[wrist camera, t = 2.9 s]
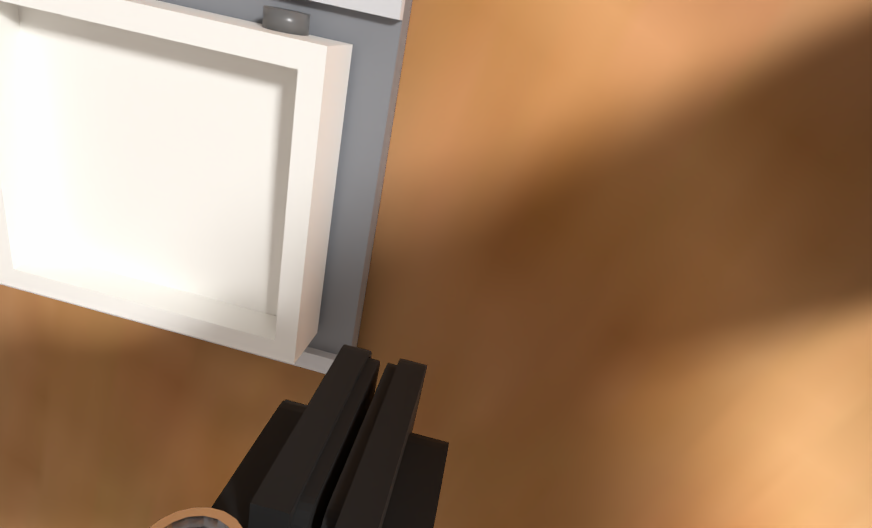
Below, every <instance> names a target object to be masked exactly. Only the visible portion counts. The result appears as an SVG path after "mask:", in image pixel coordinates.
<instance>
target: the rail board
mask: <svg viewBox="0 0 872 528" xmlns="http://www.w3.org/2000/svg"><path fill="white" fill-rule="evenodd" d="M158 1H162V2H167V3H171V4H175V5H180V6H184V7H189V8H193V9H198V10H202V11H207V12H211V13H215V14H220V15H224V16H229V17H233V18H238V19H242V20H246V21H251V22H255V23H260V24H262V22H263V6H264V5H265V6H273V7H279V8H284V9H289V10H294V11H298V12H303V13H306V14H310V25H309V35H313V36H317V37H322V38H326V39H331V40H335V41H340V42H344V43H349V44H353V46H352V55H351V63H350V71H349V79H348V87H347V95H346V103H345V111H344V120H343V128H342V136H341V144H340V152H339V160H338V168H337V177H336V185H335V193H334V201H333V209H332V217H331V225H330V233H329V242H328V250H327V258H326V266H325V274H324V282H323V290H322V298H321V307H320V315H319V323H318V331H317V334H316V335H315V337H314V338H313V339H312V341H311V342H310V343H309V345H308V346H307V347H306V349H305V350H304V351H303V353H302V354H301V355H300V357H299V358H298V360H297V361H296V362H295V364H291V363H287V362H284V361H280V360H277V359H273V358H269V357H266V356H262V355H258V354H255V353H251V352H248V351H244V350H240V349H237V348H233V347H230V346H226V345H222V344H219V343H215V342H211V341H208V340H204V339H201V338H197V337H193V336H190V335H186V334H182V333H179V332H175V331H172V330H168V329H164V328H161V327H157V326H153V325H150V324H146V323H143V322H139V321H135V320H132V319H128V318H124V317H121V316H117V315H114V314H110V313H106V312H103V311H99V310H96V309H92V308H88V307H85V306H81V305H77V304H74V303H70V302H67V301H63V300H59V299H56V298H52V297H48V296H45V295H41V294H38V293H34V292H30V291H27V290H23V289H19V288H16V287H12V286H9V285H5V284H1V283H0V284H1V285H5V286H9V287H12V288H16V289H19V290H23V291H27V292H30V293H34V294H38V295H41V296H45V297H48V298H52V299H56V300H59V301H63V302H67V303H70V304H74V305H77V306H81V307H85V308H88V309H92V310H95V311H99V312H103V313H106V314H110V315H114V316H117V317H121V318H124V319H128V320H132V321H135V322H139V323H143V324H146V325H150V326H153V327H157V328H161V329H164V330H168V331H171V332H175V333H179V334H182V335H186V336H190V337H193V338H197V339H200V340H204V341H208V342H211V343H215V344H218V345H222V346H226V347H229V348H233V349H237V350H240V351H244V352H247V353H251V354H255V355H258V356H262V357H266V358H269V359H273V360H276V361H280V362H284V363H287V364H291V365H294V366H298V367H302V368H305V369H309V370H313V371H316V372H320V373H323V374H326V373H327V371H328V370H329V368H330V366H331V365H332V363H333V361H334V360H335V358H336V356H337V354H338V353H339V351H340V349H341V348H342V346H343V345H344V344H346V345H350V346H354V347H357V342H358V336H359V330H360V323H361V317H362V311H363V305H364V299H365V292H366V286H367V280H368V274H369V268H370V261H371V255H372V249H373V243H374V236H375V230H376V224H377V218H378V212H379V205H380V199H381V193H382V187H383V180H384V174H385V168H386V162H387V156H388V149H389V143H390V137H391V131H392V125H393V118H394V112H395V106H396V100H397V93H398V87H399V81H400V75H401V69H402V62H403V56H404V50H405V44H406V37H407V31H408V25H409V19H410V13H411V6H412V0H158Z"/></svg>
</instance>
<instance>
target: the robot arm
mask: <svg viewBox="0 0 872 528" xmlns="http://www.w3.org/2000/svg"><path fill="white" fill-rule="evenodd" d="M371 355H372V352H371V351H369V350H366V349H362V348H358V347H354V346H350V345H346V344H344V345H343V346H342V348H341V349H340V351H339V353H338V354H337V356H336V358H335V360H334V361H333V363H332V365H331V366H330V368H329V370H328V371H327V373H326V375H325V377H324V378H323V380H322V382H321V383H320V385H319V387H318V388H317V390H316V392H315V394H314V395H313V397H312V399H311V400H310V402H309V404H308V405H304V404H301V403H297V402H293V401H289V400H285V401H283V402H282V403H281V404H280V405H279V407H278V408H277V410H276V411H275V413H274V414H273V416H272V417H271V419H270V420H269V422H268V423H267V425H266V426H265V428H264V429H263V431H262V432H261V434H260V435H259V437H258V438H257V440H256V441H255V443H254V444H253V446H252V447H251V449H250V450H249V452H248V453H247V455H246V456H245V458H244V459H243V461H242V462H241V464H240V465H239V467H238V468H237V470H236V471H235V473H234V474H233V476H232V477H231V479H230V480H229V482H228V483H227V485H226V486H225V488H224V489H223V491H222V492H221V494H220V495H219V497H218V498H217V500H216V501H215V503H214V504H213V506H212V507H211V508H210V507H193V508H189V509H185V510H180V511H176V512H174V513H172V514H170V515H168V516H166V517H164V518H162V519H160V520H159V521H157V522H156V523H155V524H154V525H152V526H151V527H150V528H433V527H434V521H435V516H436V511H437V505H438V500H439V494H440V489H441V484H442V478H443V473H444V467H445V462H446V457H447V451H448V445H449V443H448V442H444V441H441V440H437V439H433V438H429V437H425V436H422V435H418V434H414V433H412V430H413V425H414V421H415V417H416V412H417V408H418V404H419V399H420V395H421V391H422V386H423V382H424V378H425V373H426V369H427V365H424V364H420V363H416V362H412V361H408V360H405V359H400V360H399V362H398V365H394V364H390V363H388V364H387V366H386V368H385V370H384V373H383V375H382V378H381V380H380V382H379V385H378V387H377V389H376V392H375V387H376V382H377V377H378V371H379V366H380V361H378V360H374V359H371ZM374 393H375V394H374Z"/></svg>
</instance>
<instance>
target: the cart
mask: <svg viewBox="0 0 872 528" xmlns="http://www.w3.org/2000/svg"><path fill="white" fill-rule="evenodd" d="M309 25H310V14H306V13H303V12H298V11H294V10H289V9H284V8H279V7H273V6H265V5H264V6H263V22H262V24H260V23H255V22H251V21H246V20H242V19H238V18H233V17H229V16H224V15H220V14H215V13H211V12H207V11H202V10H198V9H193V8H189V7H184V6H180V5H175V4H171V3H167V2H162V1H158V0H0V283H1V284H5V285H9V286H12V287H16V288H19V289H23V290H27V291H30V292H34V293H38V294H41V295H45V296H48V297H52V298H56V299H59V300H63V301H67V302H70V303H74V304H77V305H81V306H85V307H88V308H92V309H96V310H99V311H103V312H106V313H110V314H114V315H117V316H121V317H124V318H128V319H132V320H135V321H139V322H143V323H146V324H150V325H153V326H157V327H161V328H164V329H168V330H172V331H175V332H179V333H182V334H186V335H190V336H193V337H197V338H201V339H204V340H208V341H211V342H215V343H219V344H222V345H226V346H230V347H233V348H237V349H240V350H244V351H248V352H251V353H255V354H258V355H262V356H266V357H269V358H273V359H277V360H280V361H284V362H287V363H291V364H295V362H296V361H297V360H298V358H299V357H300V355H301V354H302V353H303V351H304V350H305V349H306V347H307V346H308V345H309V343H310V342H311V341H312V339H313V338H314V337H315V335H316V334H317V331H318V323H319V315H320V307H321V298H322V290H323V282H324V274H325V266H326V258H327V250H328V242H329V233H330V225H331V217H332V209H333V201H334V193H335V185H336V177H337V168H338V160H339V152H340V144H341V136H342V128H343V120H344V111H345V103H346V95H347V87H348V79H349V71H350V63H351V55H352V46H353V44H349V43H344V42H340V41H335V40H331V39H326V38H322V37H317V36H313V35H309Z"/></svg>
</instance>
